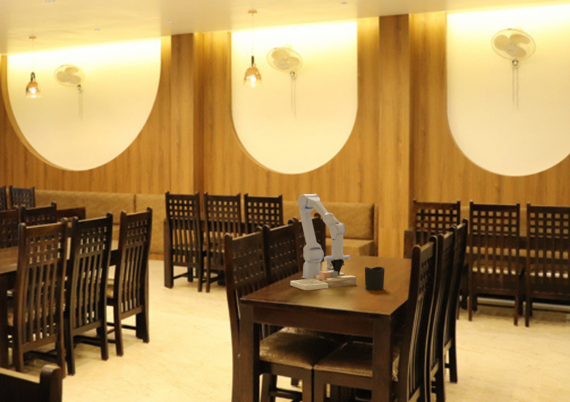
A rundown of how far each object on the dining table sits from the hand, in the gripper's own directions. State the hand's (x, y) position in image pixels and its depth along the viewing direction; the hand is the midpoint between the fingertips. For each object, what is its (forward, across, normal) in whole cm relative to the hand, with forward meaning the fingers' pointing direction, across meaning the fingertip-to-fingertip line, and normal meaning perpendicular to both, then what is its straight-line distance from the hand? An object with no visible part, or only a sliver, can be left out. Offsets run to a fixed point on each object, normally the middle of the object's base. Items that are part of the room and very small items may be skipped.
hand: (337, 274), depth 320 cm
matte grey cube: (+2, -3, 0) cm, 4 cm away
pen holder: (+5, +9, -19) cm, 21 cm away
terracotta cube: (+2, -7, 0) cm, 7 cm away
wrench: (+5, +27, +42) cm, 50 cm away
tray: (+4, -16, 0) cm, 17 cm away
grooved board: (+4, -1, 0) cm, 5 cm away
